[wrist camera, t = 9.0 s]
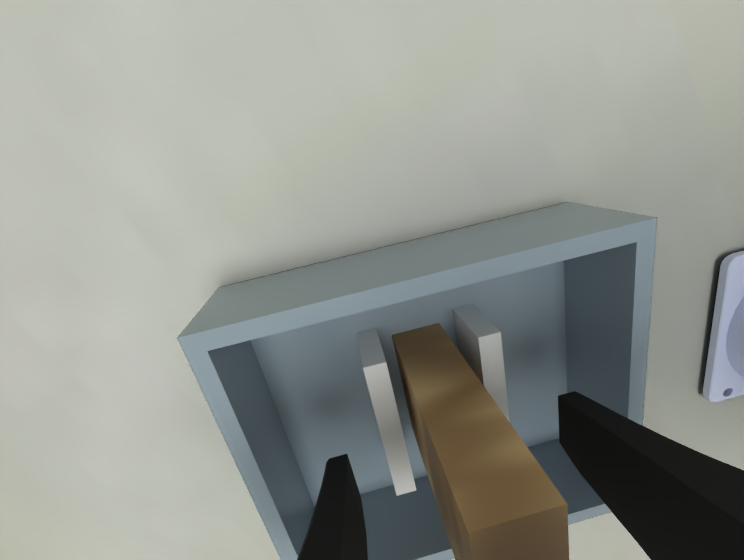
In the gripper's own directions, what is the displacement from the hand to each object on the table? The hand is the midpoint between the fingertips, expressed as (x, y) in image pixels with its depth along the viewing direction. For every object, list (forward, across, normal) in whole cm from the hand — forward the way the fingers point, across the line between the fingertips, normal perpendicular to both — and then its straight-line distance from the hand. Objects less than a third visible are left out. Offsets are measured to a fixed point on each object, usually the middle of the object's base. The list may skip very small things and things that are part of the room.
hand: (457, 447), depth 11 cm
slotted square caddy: (+4, 0, 0) cm, 4 cm away
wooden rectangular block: (+4, 0, 0) cm, 4 cm away
